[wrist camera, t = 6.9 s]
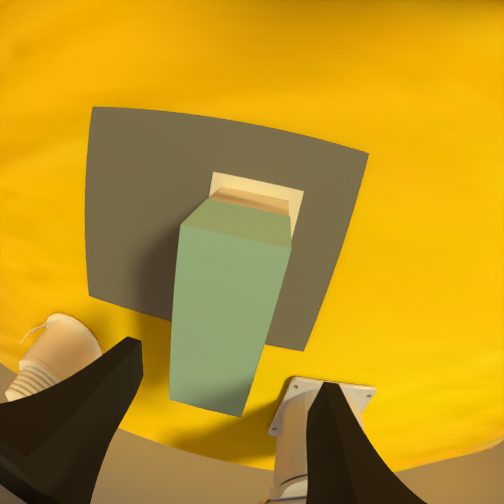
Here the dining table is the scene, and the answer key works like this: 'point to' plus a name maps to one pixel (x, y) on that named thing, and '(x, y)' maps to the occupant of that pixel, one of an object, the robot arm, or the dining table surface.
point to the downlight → (54, 356)
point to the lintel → (224, 302)
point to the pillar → (252, 200)
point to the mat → (206, 186)
